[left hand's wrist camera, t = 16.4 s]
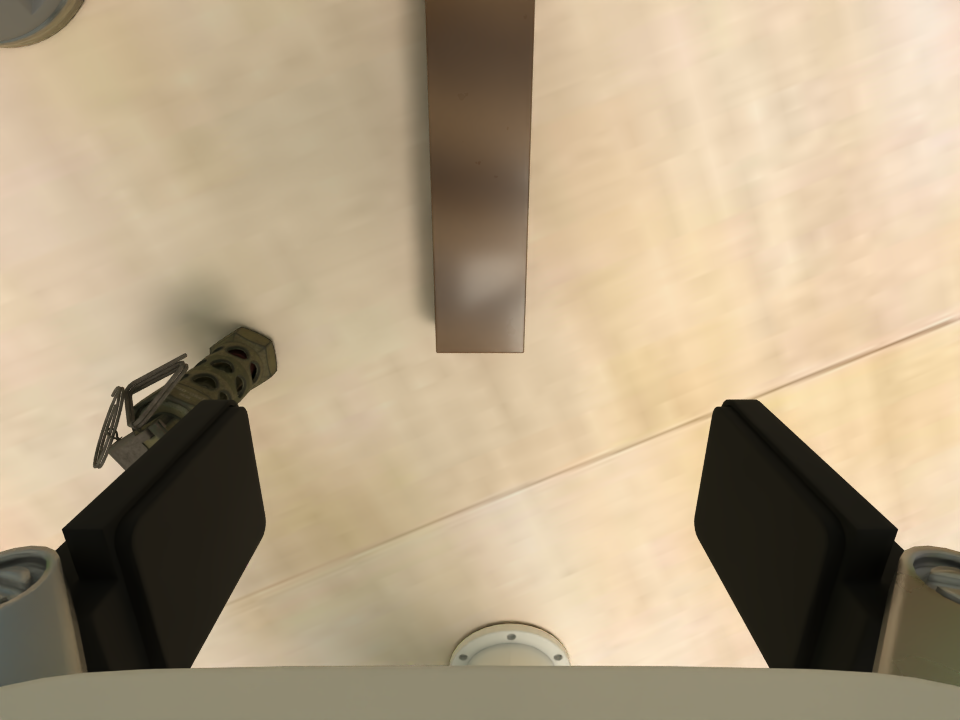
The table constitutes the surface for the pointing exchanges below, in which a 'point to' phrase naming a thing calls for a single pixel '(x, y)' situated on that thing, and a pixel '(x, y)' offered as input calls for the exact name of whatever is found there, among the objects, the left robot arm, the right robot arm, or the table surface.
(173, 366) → the grenade
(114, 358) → the table surface
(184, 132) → the table surface
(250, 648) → the table surface
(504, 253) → the post
